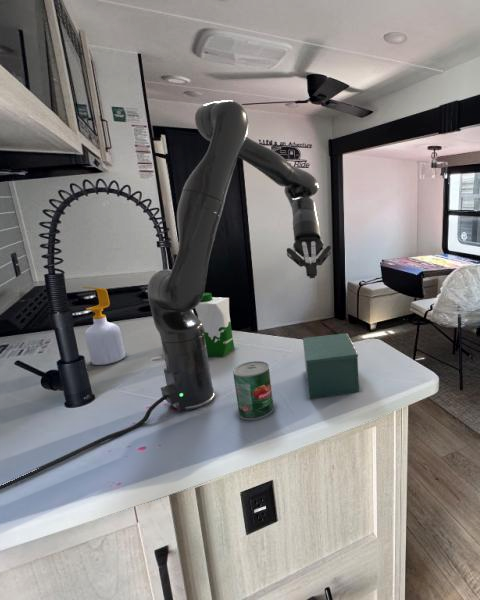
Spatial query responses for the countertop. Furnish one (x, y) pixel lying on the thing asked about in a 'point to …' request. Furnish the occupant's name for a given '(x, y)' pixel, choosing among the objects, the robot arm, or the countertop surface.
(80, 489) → the countertop surface
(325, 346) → the case lid
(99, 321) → the spray bottle
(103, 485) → the countertop surface
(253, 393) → the canned tomato
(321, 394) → the case
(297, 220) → the robot arm
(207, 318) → the milk carton
